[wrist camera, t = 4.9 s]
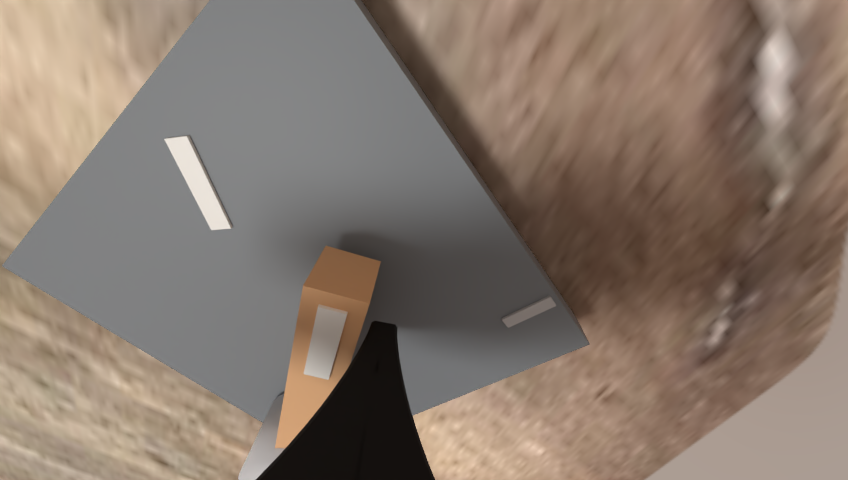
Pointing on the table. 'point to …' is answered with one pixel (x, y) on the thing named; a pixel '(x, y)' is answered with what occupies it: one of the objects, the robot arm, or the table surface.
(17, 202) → the table surface
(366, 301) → the dial pointer
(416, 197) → the dial plate
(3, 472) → the table surface
